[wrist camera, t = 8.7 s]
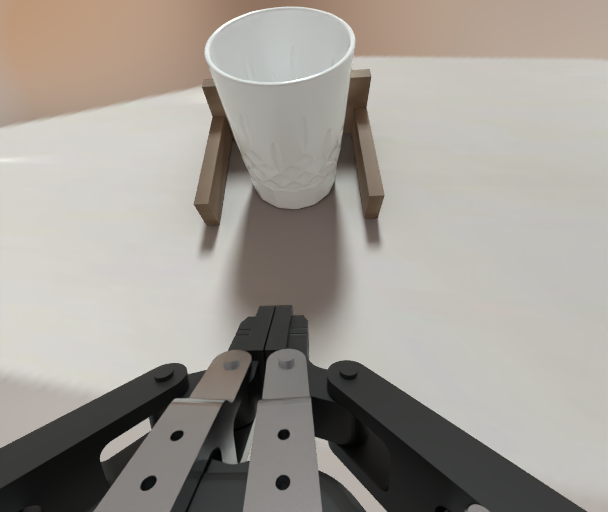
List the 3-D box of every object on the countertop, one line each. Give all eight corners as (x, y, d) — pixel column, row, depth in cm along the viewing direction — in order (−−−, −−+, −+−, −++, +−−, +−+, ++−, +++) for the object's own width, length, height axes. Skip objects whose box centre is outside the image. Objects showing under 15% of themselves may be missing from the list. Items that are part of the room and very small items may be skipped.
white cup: (258, 228, 21) (216, 100, 12) (238, 158, 25) (195, 22, 16) (356, 200, 22) (381, 62, 13) (323, 137, 26) (325, -4, 17)
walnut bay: (361, 126, 26) (369, 69, 22) (377, 217, 21) (392, 167, 17) (223, 133, 27) (204, 79, 22) (206, 225, 22) (177, 178, 17)
